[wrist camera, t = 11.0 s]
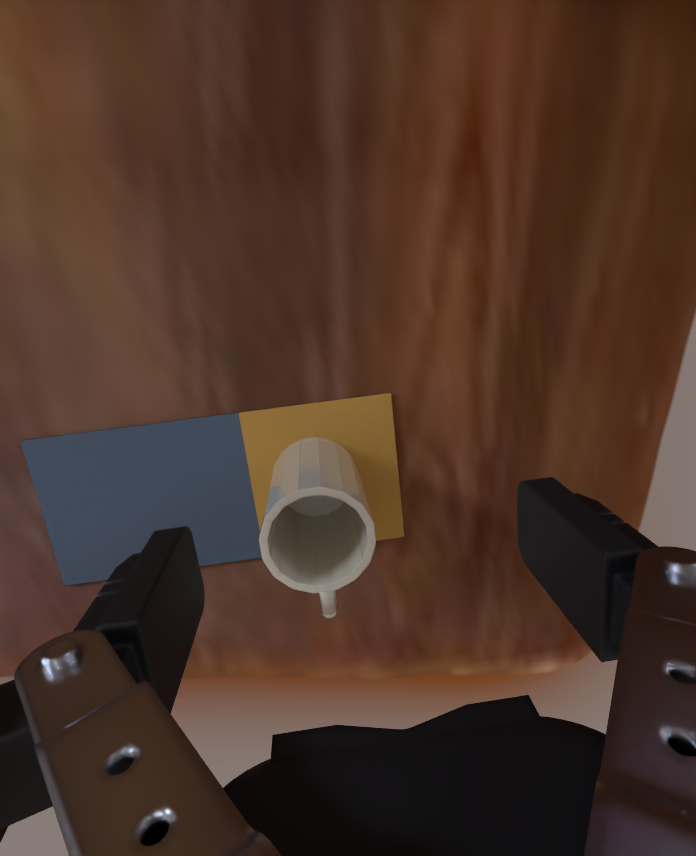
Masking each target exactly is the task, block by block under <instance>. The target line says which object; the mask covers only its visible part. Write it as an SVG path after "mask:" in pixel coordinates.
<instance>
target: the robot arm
mask: <svg viewBox="0 0 696 856" xmlns="http://www.w3.org/2000/svg"><path fill="white" fill-rule="evenodd" d="M517 504H518V544H519V549H520V553H521V556H522V559H523V561H524V563H525V564H526V566H527V567H528V568H529V570H530V571H531V572H532V574H533V575H534V576H535V577H536V579H537V580H538V581H539V583H540V584H541V585H542V586H543V588H544V589H545V590H546V592H547V593H548V594H549V595H550V597H551V598H552V599H553V601H554V602H555V603H556V604H557V606H558V607H559V608H560V610H561V611H562V612H563V613H564V615H565V616H566V617H567V619H568V620H569V621H570V622H571V624H572V625H573V626H574V628H575V629H576V630H577V631H578V633H579V634H580V635H581V637H582V638H583V639H584V640H585V642H586V643H587V644H588V646H589V647H590V648H591V649H592V651H593V652H594V653H595V654H596V656H597V657H598V658H599V660H600V661H601V662H605V661H612V660H618V663H617V670H616V675H615V681H614V688H613V694H612V700H611V706H610V713H609V719H608V725H607V731H606V734H604V733H601V732H599V731H597V730H594V729H592V728H589V727H586V726H584V725H581V724H577V723H574V722H570V721H566V720H562V719H556V718H551V717H541V716H539V714H538V712H537V710H536V708H535V707H534V705H533V703H532V701H531V699H530V697H529V695H525V696H519V697H513V698H506V699H499V700H493V701H487V702H480V703H474V704H468V705H465V706H462V707H460V708H457V709H455V710H452V711H450V712H448V713H445V714H443V715H440V716H438V717H436V718H433V719H431V720H429V721H426V722H424V723H421V724H419V725H416V726H414V727H411V728H408V729H402V730H401V729H385V728H371V727H356V726H344V725H334V726H327V727H320V728H314V729H308V730H301V731H295V732H289V733H282V734H277V735H273V737H272V751H271V759H269V760H267V761H264V762H262V763H260V764H258V765H256V766H254V767H253V768H251V769H249V770H247V771H245V772H244V773H242V774H241V775H239V776H238V777H236V778H235V779H233V780H232V781H231V782H230V783H228V784H227V785H226V786H225V787H224V788H222V786H221V785H220V784H219V782H218V781H217V779H216V778H215V776H214V775H213V774H212V772H211V771H210V769H209V768H208V767H207V765H206V764H205V763H204V761H203V760H202V758H201V757H200V755H199V754H198V752H197V751H196V749H195V748H194V747H193V745H192V744H191V742H190V741H189V740H188V738H187V737H186V735H185V734H184V732H183V731H182V730H181V728H180V727H179V726H178V724H177V723H176V721H175V720H174V718H173V717H172V716H171V711H172V707H173V704H174V701H175V698H176V695H177V691H178V688H179V685H180V682H181V679H182V676H183V673H184V669H185V666H186V663H187V660H188V657H189V654H190V650H191V647H192V644H193V641H194V638H195V635H196V631H197V628H198V625H199V622H200V619H201V616H202V612H203V608H204V585H203V580H202V575H201V571H200V566H199V562H198V557H197V553H196V549H195V544H194V540H193V535H192V532H191V530H190V528H189V527H188V526H184V527H176V528H169V529H162V530H155V531H154V532H153V534H152V535H151V537H150V539H149V540H148V542H147V543H146V545H145V547H144V548H143V550H142V552H141V553H137V554H132V555H131V556H130V557H129V558H127V559H126V560H125V561H124V562H122V563H121V564H120V565H118V566H117V567H116V568H115V570H114V571H113V573H112V574H111V576H110V577H109V579H108V580H107V581H106V585H104V586H103V587H102V589H101V590H100V592H99V593H98V597H96V598H95V599H94V601H93V602H92V604H91V605H90V607H89V608H88V610H87V611H86V613H85V614H84V616H83V617H82V619H81V620H80V622H79V623H78V625H77V626H76V628H75V629H74V631H73V632H70V633H66V634H63V635H60V636H58V637H56V638H54V639H52V640H50V641H48V642H46V643H44V644H43V645H41V646H39V647H38V648H36V649H35V650H34V651H32V652H31V653H30V654H29V655H28V656H27V657H26V658H25V659H24V660H23V661H22V662H21V663H20V665H19V666H18V668H17V670H16V672H15V676H14V680H12V681H10V682H7V683H4V684H1V685H0V842H1V840H2V838H3V836H4V834H5V832H6V830H7V827H8V826H9V825H11V824H13V823H15V822H18V821H20V820H23V819H25V818H26V817H29V816H31V815H34V814H36V813H38V812H40V811H43V810H45V809H47V808H50V807H52V806H53V807H54V810H55V813H56V816H57V820H58V823H59V826H60V828H61V832H62V835H63V838H64V841H65V844H66V848H67V850H68V853H69V856H696V551H693V550H689V549H684V548H678V547H658V546H656V545H655V544H654V543H653V542H651V541H650V540H649V539H647V538H646V537H645V536H643V535H642V534H641V533H639V532H638V531H637V530H635V529H634V528H633V527H631V526H630V525H629V524H627V523H624V521H623V520H622V519H621V518H619V517H618V516H617V515H616V514H612V511H610V510H609V509H608V508H606V507H605V506H604V505H602V504H601V503H600V502H598V501H596V500H593V499H591V498H588V497H586V496H583V495H580V494H578V493H577V494H573V493H572V492H571V491H570V490H568V489H567V488H566V487H564V486H563V485H562V484H561V483H559V482H558V481H557V480H556V479H554V478H552V477H548V478H541V479H534V480H526V481H521V482H520V483H519V485H518V490H517Z"/></svg>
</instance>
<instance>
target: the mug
mask: <svg viewBox="0 0 696 856" xmlns="http://www.w3.org/2000/svg"><path fill="white" fill-rule="evenodd" d="M259 544H260V550H261V555H262V559H263V562H264V563H265V564H266V566H267V567H268V569H269V570H270V572H271V573H272V575H273V576H274V577H275V578H276V579H278V580H279V581H281V582H282V583H284V584H286V585H287V586H289V587H290V588H292V589H295V590H300V591H305V592H310V593H319V595H320V602H321V609H322V614H323V616H324V617H326V618H328V619H331V618H333V617H334V616H335V615H336V613H337V605H336V594H335V590H338V589H339V588H341V587H343V586H345V585H347V584H349V583H351V582H352V581H354V580H355V579H357V578H358V576H359V575H360V574H361V573H362V572H363V571H364V569H365V568H366V567H367V566H368V565H369V563H370V561H371V558H372V555H373V552H374V549H375V546H376V537H375V528H374V522H373V519H372V515H371V512H370V509H369V505H368V502H367V498H366V495H365V492H364V488H363V485H362V481H361V478H360V475H359V471H358V468H357V466H356V464H355V462H354V460H353V458H352V456H351V455H350V453H349V452H348V451H347V450H346V449H345V448H344V447H343V446H341V445H340V444H338V443H336V442H334V441H332V440H329V439H325V438H318V437H313V438H306V439H302V440H299V441H297V442H295V443H293V444H291V445H290V446H288V447H287V448H286V449H285V450H284V451H283V452H282V453H281V454H280V455H279V457H278V458H277V460H276V462H275V464H274V468H273V472H272V476H271V480H270V485H269V490H268V495H267V500H266V505H265V510H264V515H263V520H262V525H261V530H260V535H259Z"/></svg>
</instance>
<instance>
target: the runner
mask: <svg viewBox="0 0 696 856" xmlns="http://www.w3.org/2000/svg"><path fill="white" fill-rule="evenodd" d="M313 437H318V438H325V439H329V440H332V441H334V442H336V443H338V444H340V445H341V446H343V447H344V448H345V449H346V450H347V451H348V452H349V453H350V455H351V456H352V458H353V460H354V462H355V464H356V466H357V468H358V471H359V475H360V478H361V481H362V485H363V488H364V492H365V495H366V498H367V502H368V505H369V509H370V512H371V515H372V519H373V522H374V528H375V537H376V541H380V540H387V539H394V538H401V537H404V527H403V516H402V505H401V495H400V484H399V473H398V463H397V452H396V441H395V431H394V420H393V409H392V399H391V393H387V394H379V395H371V396H364V397H356V398H348V399H340V400H333V401H325V402H317V403H310V404H302V405H294V406H286V407H279V408H271V409H263V410H256V411H248V412H240V413H232V414H225V415H217V416H209V417H202V418H194V419H186V420H179V421H171V422H163V423H155V424H148V425H140V426H132V427H125V428H117V429H109V430H101V431H94V432H86V433H78V434H71V435H63V436H55V437H47V438H40V439H32V440H24V441H21V444H22V447H23V451H24V454H25V457H26V461H27V464H28V467H29V470H30V474H31V477H32V480H33V484H34V487H35V490H36V494H37V497H38V500H39V503H40V507H41V510H42V513H43V517H44V520H45V523H46V526H47V530H48V533H49V536H50V540H51V543H52V546H53V550H54V553H55V556H56V559H57V563H58V566H59V569H60V573H61V576H62V579H63V583H64V586H67V585H74V584H81V583H88V582H95V581H102V580H108V579H109V577H110V576H111V574H112V573H113V571H114V570H115V568H116V567H117V566H118V565H120V564H121V563H122V562H124V561H125V560H126V559H127V558H129V557H130V556H131V555H132V554H137V553H141V552H142V550H143V548H144V547H145V545H146V543H147V542H148V540H149V539H150V537H151V535H152V534H153V532H154V531H155V530H162V529H169V528H176V527H184V526H188V527H189V528H190V530H191V532H192V535H193V540H194V544H195V549H196V553H197V557H198V562H199V566H206V565H213V564H220V563H227V562H234V561H241V560H248V559H255V558H262V555H261V550H260V544H259V535H260V530H261V525H262V520H263V515H264V510H265V505H266V500H267V495H268V490H269V485H270V480H271V476H272V472H273V468H274V464H275V462H276V460H277V458H278V457H279V455H280V454H281V453H282V452H283V451H284V450H285V449H286V448H287V447H288V446H290V445H291V444H293V443H295V442H297V441H299V440H302V439H306V438H313Z"/></svg>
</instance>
